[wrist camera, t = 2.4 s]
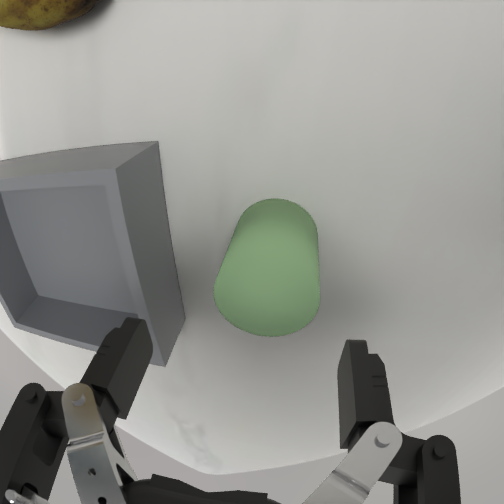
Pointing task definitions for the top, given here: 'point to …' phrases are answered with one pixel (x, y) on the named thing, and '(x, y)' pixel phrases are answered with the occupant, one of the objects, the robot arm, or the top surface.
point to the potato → (41, 12)
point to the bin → (88, 245)
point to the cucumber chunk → (270, 270)
